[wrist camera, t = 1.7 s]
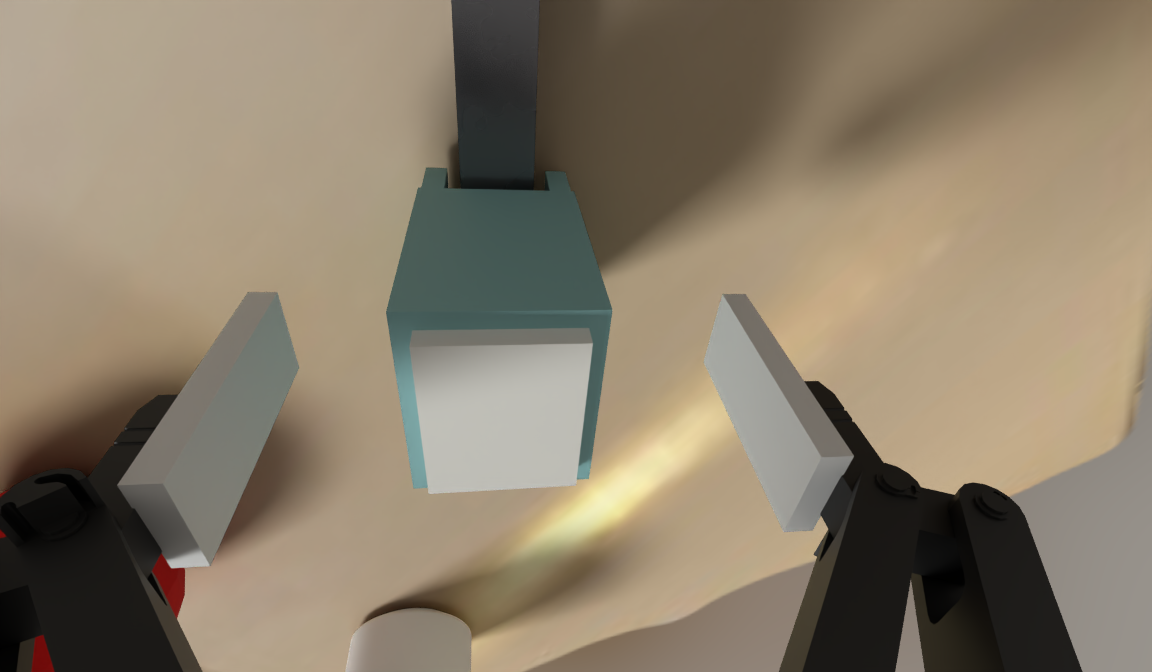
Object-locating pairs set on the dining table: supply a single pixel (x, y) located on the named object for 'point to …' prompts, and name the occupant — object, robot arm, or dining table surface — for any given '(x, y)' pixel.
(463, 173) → the rail
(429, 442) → the block
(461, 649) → the beverage can
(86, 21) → the dining table surface
